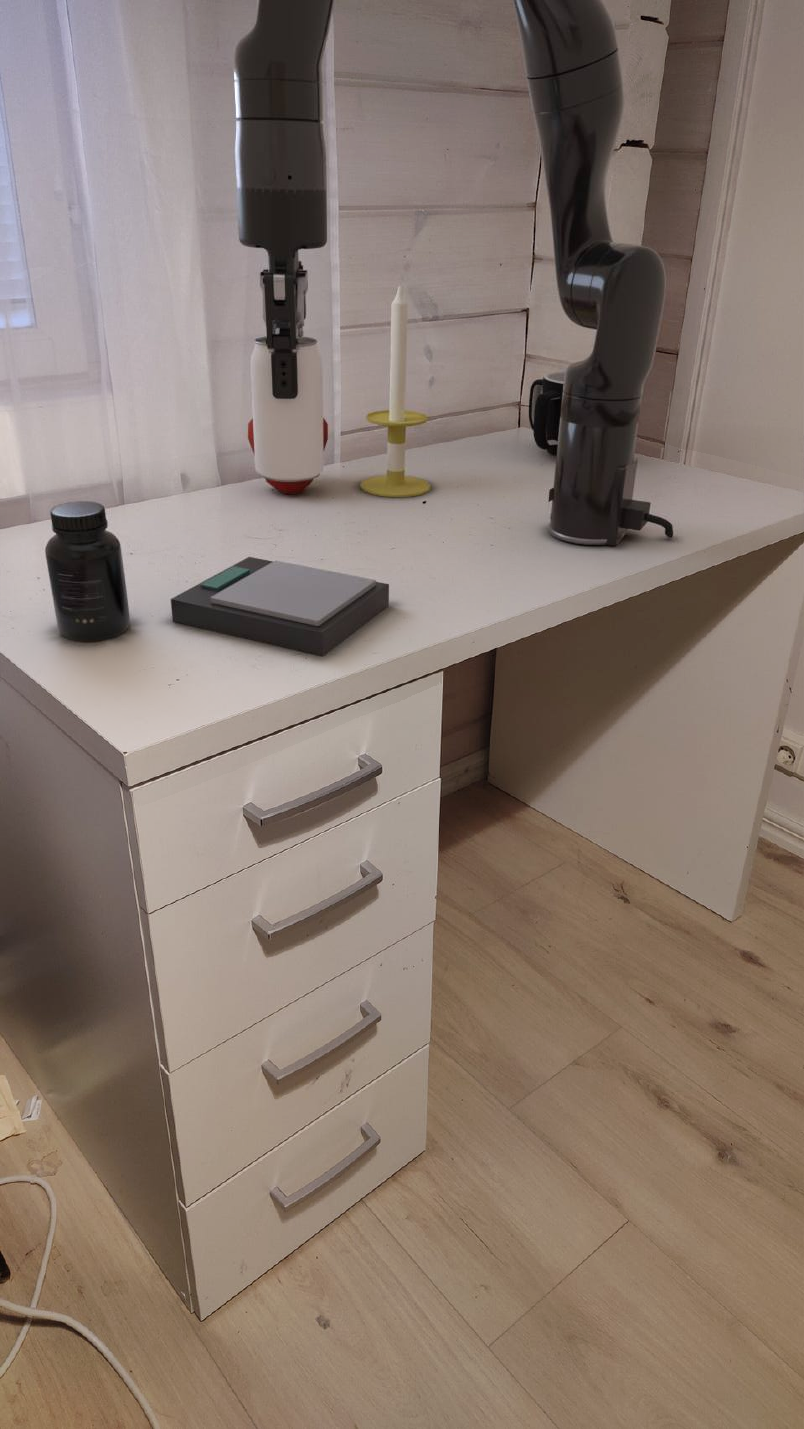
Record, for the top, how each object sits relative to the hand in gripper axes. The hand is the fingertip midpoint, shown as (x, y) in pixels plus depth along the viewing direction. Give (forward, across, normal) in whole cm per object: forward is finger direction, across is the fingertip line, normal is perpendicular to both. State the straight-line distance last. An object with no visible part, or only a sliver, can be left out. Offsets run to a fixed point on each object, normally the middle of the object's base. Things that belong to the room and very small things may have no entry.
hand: (287, 389), depth 92 cm
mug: (+22, +66, -42) cm, 81 cm away
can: (+8, 0, 0) cm, 8 cm away
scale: (+22, 0, +1) cm, 22 cm away
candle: (+22, +46, -12) cm, 52 cm away
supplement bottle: (+22, -4, +19) cm, 30 cm away
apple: (+22, +44, +3) cm, 49 cm away
